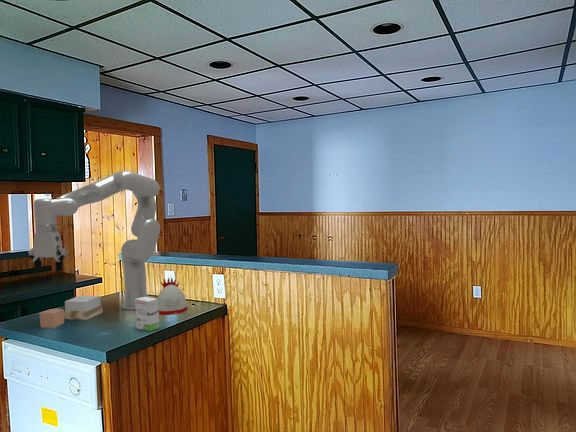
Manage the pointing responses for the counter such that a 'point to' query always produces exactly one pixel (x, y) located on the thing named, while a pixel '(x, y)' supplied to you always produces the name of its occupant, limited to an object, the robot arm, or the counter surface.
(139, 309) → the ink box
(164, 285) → the white dome with spikes
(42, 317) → the terracotta cube
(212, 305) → the counter surface
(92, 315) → the maple base slab
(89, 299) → the grey top slab
